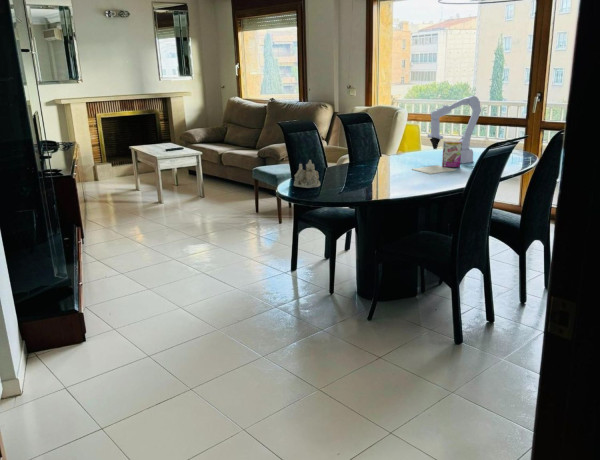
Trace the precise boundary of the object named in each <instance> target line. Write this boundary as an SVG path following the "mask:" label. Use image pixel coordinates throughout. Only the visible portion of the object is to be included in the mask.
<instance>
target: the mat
mask: <svg viewBox="0 0 600 460" xmlns="http://www.w3.org/2000/svg"><path fill="white" fill-rule="evenodd" d="M411 170H412V171H416V172H419V173H424V174H428V175H433V174H434V175H435V174H441V173H448V172H453V171H457V169H456V168H453V167H442V165H437V164H436V165H430V166H423V167H416V168H415V167H414V168H411Z"/></svg>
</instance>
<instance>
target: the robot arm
mask: <svg viewBox="0 0 600 460" xmlns="http://www.w3.org/2000/svg"><path fill="white" fill-rule="evenodd" d="M461 106H469V107H470V108H471V110H472V112H471V114H470V115H471V116H470V118H469V120H468V123H467V125H466V128H465V131H464V132H463V134H462V136H461V138H460V139H459V140H458V142H462V148H461V161H460V164H468V163H473V162H474V150H473V149H472V148H470V146H471V145H470V142H471V139H472V138H471V137H472V135H473V132H474V131H475V127H476V125H477V123H478V120H479V117H480V115H481V112H482V108H481V101H480V99H479V97H478V96H475V95H469V96H465V97H463V98H462V99H459V100H458V101H455V102H453V103H452V104H450V105H448V104H443V105H442V106H441V107H439V108H436V110H432V111H431V113H430V118H431V119H430V134H427V138H429V141H430V142H431V145H432V149H433V150H438V146H439V143H440V142H441V140H443V139H444V136H443V135H441V134H440V123H441V122H440V118H441V117H444V116H446V115H449V114H450V113H451V112H452V110H454V109H457V108H459V107H461Z"/></svg>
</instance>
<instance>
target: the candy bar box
mask: <svg viewBox="0 0 600 460" xmlns="http://www.w3.org/2000/svg"><path fill="white" fill-rule="evenodd" d="M442 145H443V147H442V159H441V166H442V167H447V168H460V167H461V163H460V161H461V148H462V142H459V140H458V141H453V140H451V141H450V140H448V141H447V140H446V141H445V140H444V141H443V144H442Z"/></svg>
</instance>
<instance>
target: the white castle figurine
mask: <svg viewBox="0 0 600 460" xmlns="http://www.w3.org/2000/svg"><path fill="white" fill-rule="evenodd" d="M319 178H320V176H319V172H318V171H317V170H316V169H315V164H314V163H312V160H311V159H309V160H308V162H307V163H306V164H305V169H303V163H299V164H298V170H297V171H296V173H295V174H294V181H293V186H294V187H299V188H306V189H311V188H319V187H320V186H321V181H320V180H319Z"/></svg>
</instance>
